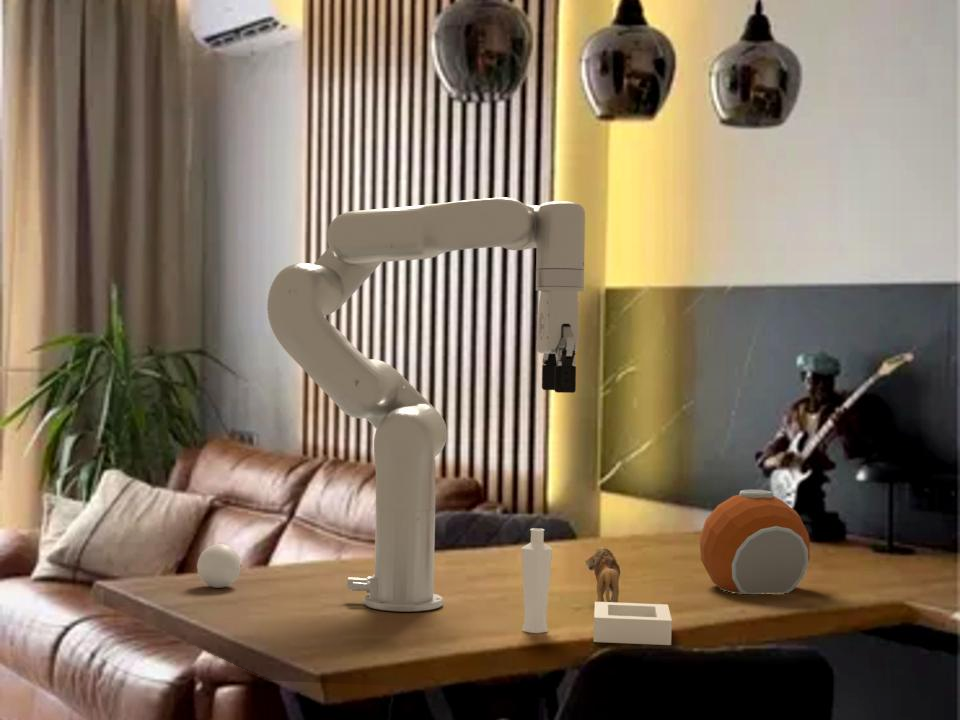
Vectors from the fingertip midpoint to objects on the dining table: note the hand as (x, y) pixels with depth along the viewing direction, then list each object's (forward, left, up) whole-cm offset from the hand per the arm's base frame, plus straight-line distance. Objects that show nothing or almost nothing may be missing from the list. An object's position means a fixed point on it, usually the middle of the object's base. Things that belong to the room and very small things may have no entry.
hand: (558, 391), depth 218 cm
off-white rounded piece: (-57, +12, -35) cm, 68 cm away
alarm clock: (+34, +29, -35) cm, 57 cm away
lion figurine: (+8, +7, -35) cm, 37 cm away
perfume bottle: (-2, -13, -35) cm, 38 cm away
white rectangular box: (+12, -13, -35) cm, 39 cm away
